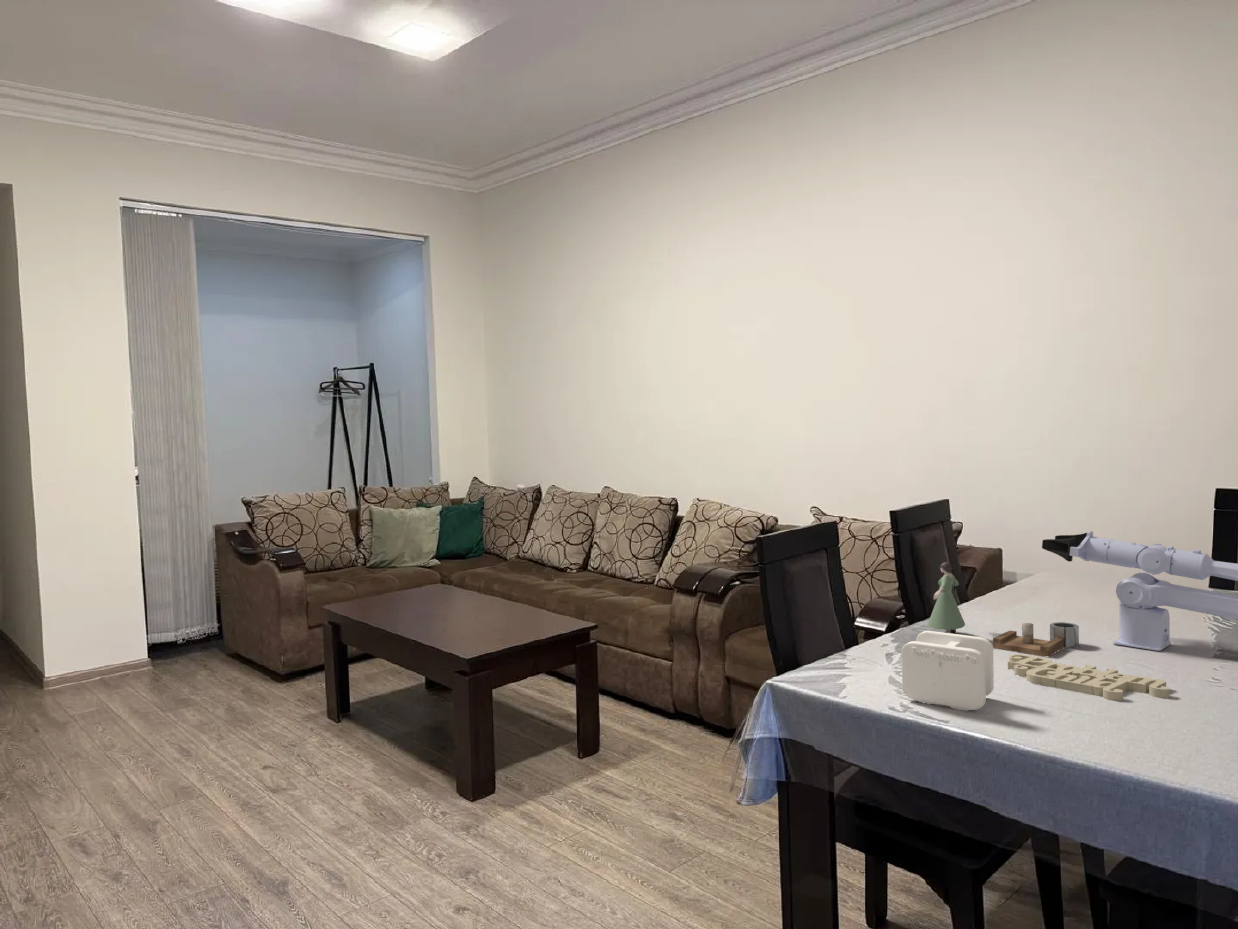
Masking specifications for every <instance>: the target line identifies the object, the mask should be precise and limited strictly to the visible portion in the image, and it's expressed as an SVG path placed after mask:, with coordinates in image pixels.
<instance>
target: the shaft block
mask: <svg viewBox="0 0 1238 929" xmlns="http://www.w3.org/2000/svg"><path fill="white" fill-rule="evenodd" d="M1021 630H1022V632H1021V636H1020V635H1017V634H1018V633H1017V632H1018V631H1015V630H1008V631H1006V632H1005V631H1004V632H1003V633H1001V634H999V635H997V636H995V637H993V638H992V645H993V649H997V650H1004V651H1009V650H1011V651H1010V652H1015V651H1017V652H1016V653H1021V652H1023V653H1022V654H1027V653H1028V654H1027V655H1032V654H1033V655H1032V656H1037V657H1039V656H1040V657H1044V656H1049V657H1051V656H1053V655H1054V653H1055V652H1056V653H1058V652H1059V651H1058V650H1060V651H1062V650H1063V648H1064V639H1062V638H1055V639H1053V640H1051V641H1050V640H1046V639H1041V638H1035V637H1034V623H1031V622H1023V623H1022V625H1021ZM1061 649H1062V650H1061ZM1064 649H1065V648H1064ZM1057 651H1058V652H1057ZM1056 653H1055V654H1056ZM1052 654H1053V655H1052Z"/></svg>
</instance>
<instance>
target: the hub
mask: <svg viewBox="0 0 1238 929" xmlns="http://www.w3.org/2000/svg"><path fill="white" fill-rule="evenodd" d="M1055 638H1062V639H1064V649H1075V647H1076V648H1078V647H1079V646H1080V627H1079V625H1078V624H1075V623H1072V622H1065V621H1063V622H1062V621H1059V622H1056V621H1055V622H1052V623H1050V624H1049V641H1051V640H1053V639H1055ZM1077 646H1078V647H1077Z"/></svg>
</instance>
